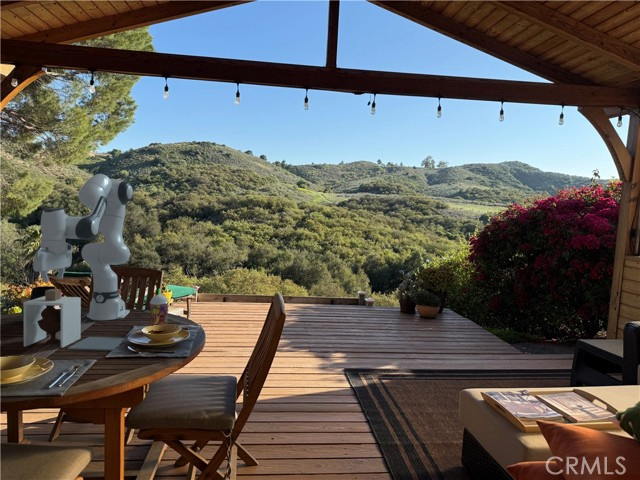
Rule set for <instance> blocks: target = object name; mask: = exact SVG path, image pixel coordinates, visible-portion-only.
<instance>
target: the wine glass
mask: <svg viewBox="0 0 640 480" xmlns="http://www.w3.org/2000/svg"><path fill="white" fill-rule="evenodd" d="M51 289H57V288H56V286H54V285H53V286H52V285H47V286H45V285H43V286H34V287H32V288H31V292H30V297H29V298H30V299H29V301H30V300H33V299H37V298H40V297H44V296H45V291H47V290H51ZM47 307H54V308H55V306H49V305H46V308H47ZM47 334H48V333H47V332H46V335H47Z"/></svg>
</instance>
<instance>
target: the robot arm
mask: <svg viewBox="0 0 640 480" xmlns="http://www.w3.org/2000/svg"><path fill="white" fill-rule="evenodd" d="M77 195H78V199H79V201H80V203H81V204H82V205H83V206H85V207H86V208H87V209H90V213H89V214H88V215H86V216H71V215H68V214H66V212H65V210H64V209H65V208H62V207H61V208H60V207H49V208H45V209H43V210H42V213H41V217H40V231H41V236H40V248H38V249H37V250H36V252H35V254H34V257H33V264H32V265H33V267H32V268H33V271H34V272H35V273H36V272H38V273H39V272H40V276H41V277H42V279H41V280H42V282H43V283H48V282H50V277H49V276H48V273H49V271H53V270H58V274H56V279H57V280H61V279H63V278H64V274H65V270H66V268H70V267H71V265H72V259H73V256H72V254H73V253H72V251H73V245H72V244H70V243H68V242H66V241H67V240H66V239H74V240H85V241H91V240H93V239H94V238H95V237H97V235H98V234H99V233H100V234H101V235H103V237H104V242H90V243H87V244H85V245H84V246H83V247H82V250H81V258H82V259H83V260H84V261H85V262H86V263H87V264H88V267H89V269H90V270H91V273H92V277H93V291H92V300H91V301H90V303H89V313H88V314H87V315H86V318H89V319H90V320H93V321H110V320H111V321H113V320H117V319H124V318H125V317H126V316H128V315H129V313H130V311H131V310H130V309H126V302H125V301H124V300H123V299H122V298H121V297H120V294H121V292H122V291H121V290H122V289H118V275H117V274H116V273H115V272H114V270H112V268H111V267H110V266H111V265H114V266H116V265H117V266H119V265H122V264H125V263H127V262H128V261H129V259H130V257H131V251H130V249H129V247H128V246H127V245H126V244H125V241H124V238H123V230H124V222H125V217H126V205H127V203H129V202H130V201H131V200H132V198H133V195H134V188H133V186H132V184H131V183H130V182H127V181H125V180H123V181H121V180H118V179H117V180H116V179H111V178H110V177H109V176H107V174H106V175H105V174H103V173H97V174H94V175H93V176H91V177H90V178H89V179H88V180H86V181H85V183H83V185H82V186H81V188H80V189H79V191H78V193H77Z"/></svg>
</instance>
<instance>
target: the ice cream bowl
mask: <svg viewBox="0 0 640 480" xmlns="http://www.w3.org/2000/svg"><path fill="white" fill-rule="evenodd" d="M41 316H42V318H43V319H41V320H39V321H37V322H38V325H39V327H40V328H41V329H42V330H43V331H45V332H47V334H49V335H50V339H47V340H46V341H45V344H46V345H57V344H61V338H58V337H57V336H56V335H57V333H59V332H61V309H57V308H55V306H54V307H47V308H45V309H44V310H43V311H42V312H41Z"/></svg>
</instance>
